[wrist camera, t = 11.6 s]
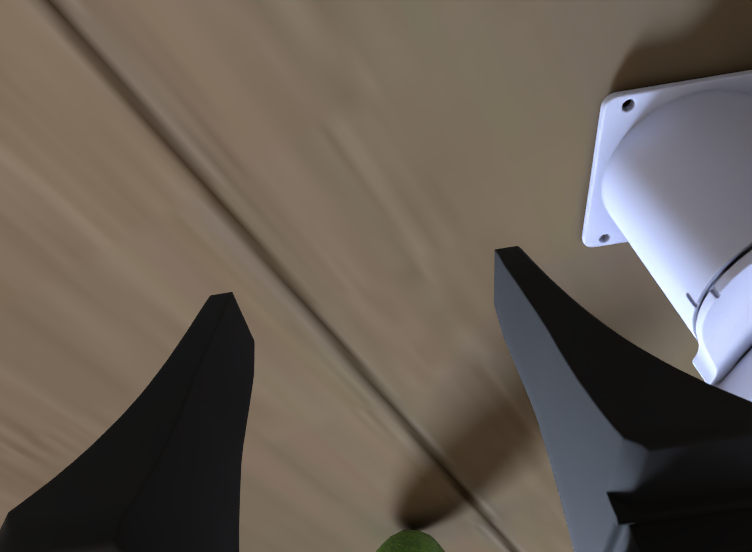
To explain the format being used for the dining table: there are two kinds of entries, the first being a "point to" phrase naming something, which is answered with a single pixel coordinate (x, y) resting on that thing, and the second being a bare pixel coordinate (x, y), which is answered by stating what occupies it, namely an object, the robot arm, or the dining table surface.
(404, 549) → the avocado
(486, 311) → the dining table surface
